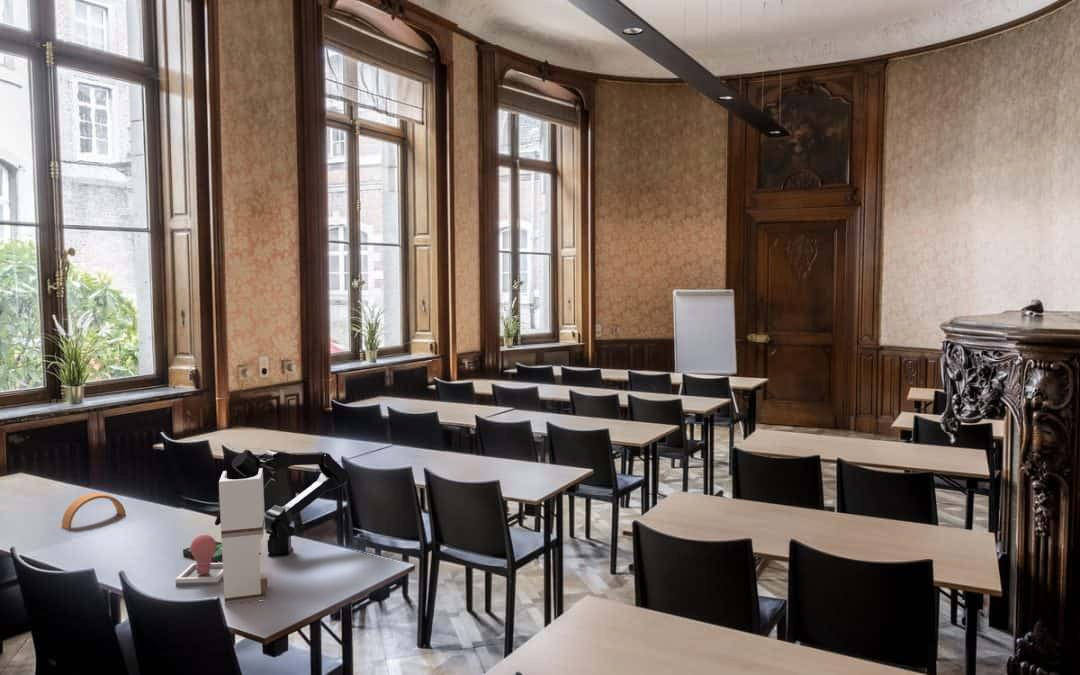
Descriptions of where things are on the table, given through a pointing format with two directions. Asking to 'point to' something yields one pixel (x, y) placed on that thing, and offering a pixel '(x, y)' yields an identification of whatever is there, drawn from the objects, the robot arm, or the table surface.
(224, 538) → the tall white pillar
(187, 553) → the disk drive
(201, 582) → the white square frame
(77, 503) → the arch
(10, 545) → the table surface
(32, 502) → the table surface
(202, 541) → the light bulb
